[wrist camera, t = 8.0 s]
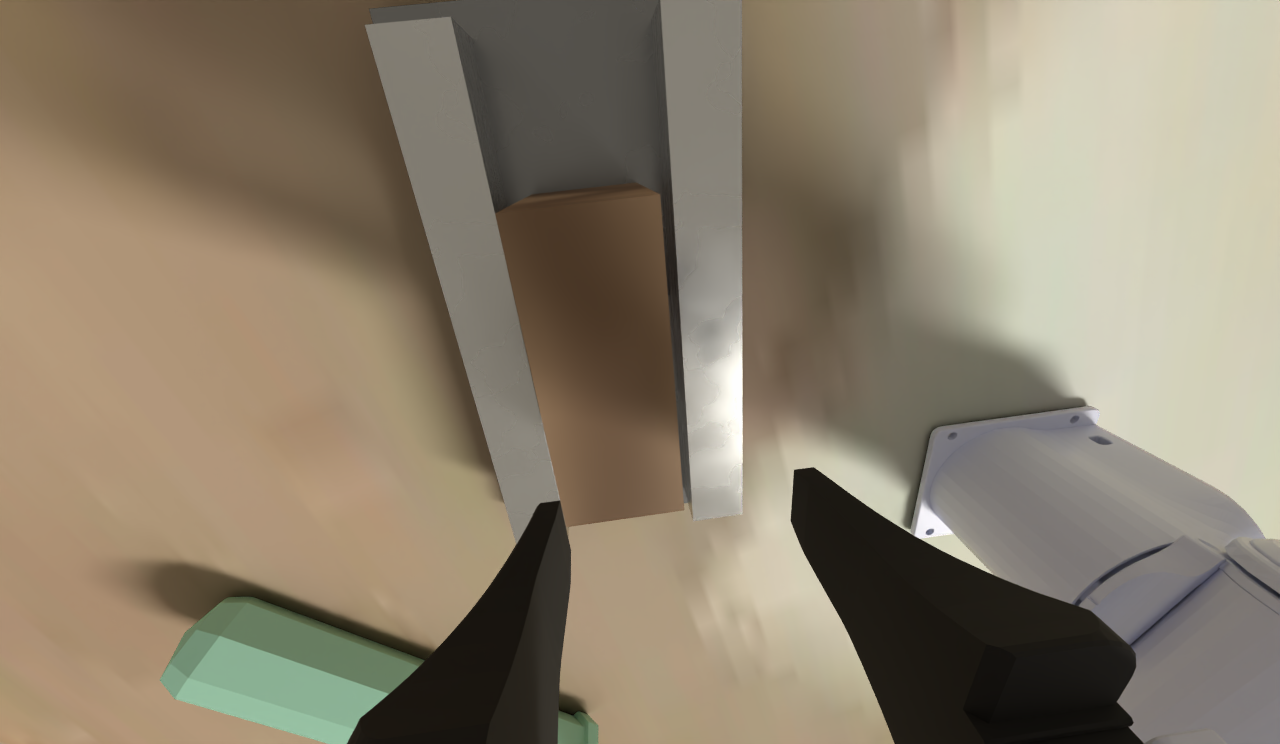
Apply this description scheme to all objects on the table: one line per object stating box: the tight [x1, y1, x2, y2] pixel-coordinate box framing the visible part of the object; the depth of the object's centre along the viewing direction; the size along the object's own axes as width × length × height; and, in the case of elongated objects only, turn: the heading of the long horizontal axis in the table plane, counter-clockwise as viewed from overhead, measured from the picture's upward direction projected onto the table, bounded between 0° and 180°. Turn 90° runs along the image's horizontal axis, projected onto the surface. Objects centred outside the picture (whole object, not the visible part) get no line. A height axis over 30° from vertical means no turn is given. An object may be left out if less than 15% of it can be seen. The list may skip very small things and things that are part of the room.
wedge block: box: [495, 183, 684, 527], centre depth 16 cm, size 4×10×7 cm, turn 5°
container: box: [160, 597, 598, 744], centre depth 28 cm, size 6×6×25 cm
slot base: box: [365, 0, 742, 544], centre depth 19 cm, size 12×22×4 cm, turn 5°
